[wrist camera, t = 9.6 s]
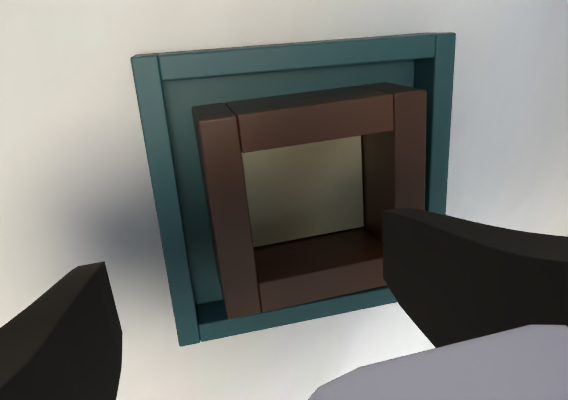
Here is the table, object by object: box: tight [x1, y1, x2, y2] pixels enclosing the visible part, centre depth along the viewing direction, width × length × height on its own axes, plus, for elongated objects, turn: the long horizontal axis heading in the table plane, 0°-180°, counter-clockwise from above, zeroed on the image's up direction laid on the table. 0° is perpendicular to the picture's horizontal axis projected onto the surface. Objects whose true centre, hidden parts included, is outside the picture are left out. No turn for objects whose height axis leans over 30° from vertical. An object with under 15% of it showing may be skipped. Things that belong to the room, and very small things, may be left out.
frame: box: [192, 82, 427, 319], centre depth 17 cm, size 8×7×3 cm
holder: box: [131, 32, 456, 346], centre depth 18 cm, size 11×11×2 cm
